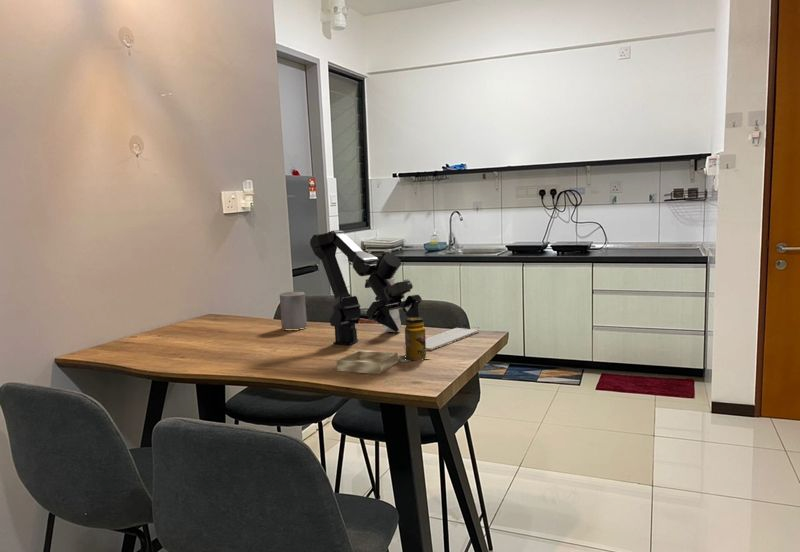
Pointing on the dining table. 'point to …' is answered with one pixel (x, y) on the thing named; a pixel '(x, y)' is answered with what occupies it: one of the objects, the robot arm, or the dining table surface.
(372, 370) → the caddy
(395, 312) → the plastic bottle
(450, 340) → the baseboard molding
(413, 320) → the condiment
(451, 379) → the dining table surface
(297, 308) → the pillar candle
